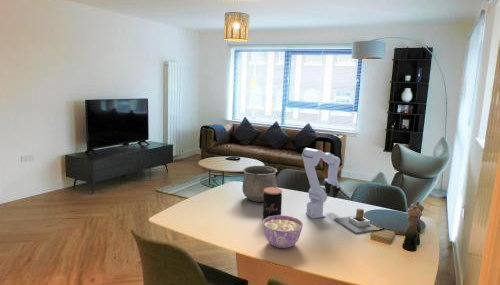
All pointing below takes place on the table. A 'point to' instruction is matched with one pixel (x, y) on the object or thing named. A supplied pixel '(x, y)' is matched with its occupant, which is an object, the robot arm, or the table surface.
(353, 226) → the grey flat piece
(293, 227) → the bowl of food
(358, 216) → the walnut peg
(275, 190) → the coffee jar
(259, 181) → the pot
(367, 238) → the table surface
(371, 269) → the table surface
